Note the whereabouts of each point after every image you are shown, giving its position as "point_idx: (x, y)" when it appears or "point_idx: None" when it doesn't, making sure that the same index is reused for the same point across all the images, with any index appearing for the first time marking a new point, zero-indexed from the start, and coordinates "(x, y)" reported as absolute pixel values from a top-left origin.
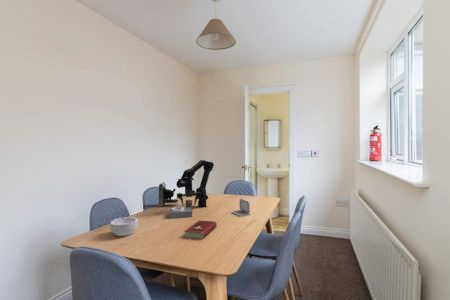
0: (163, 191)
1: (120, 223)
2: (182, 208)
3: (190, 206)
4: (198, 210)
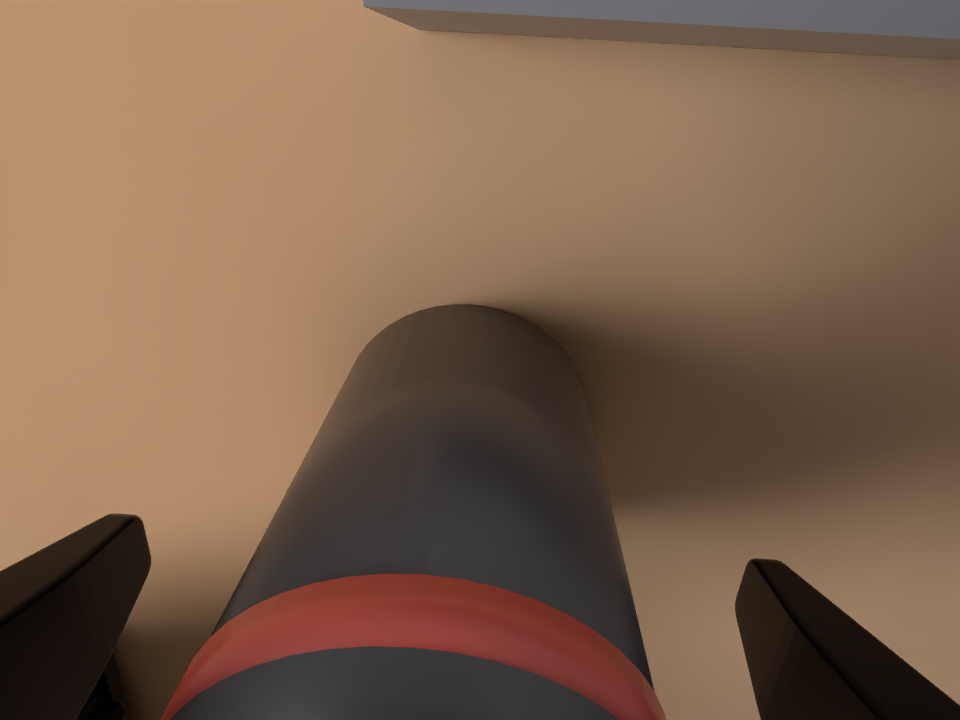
0: None
1: None
2: None
3: (375, 412)
4: (88, 297)
